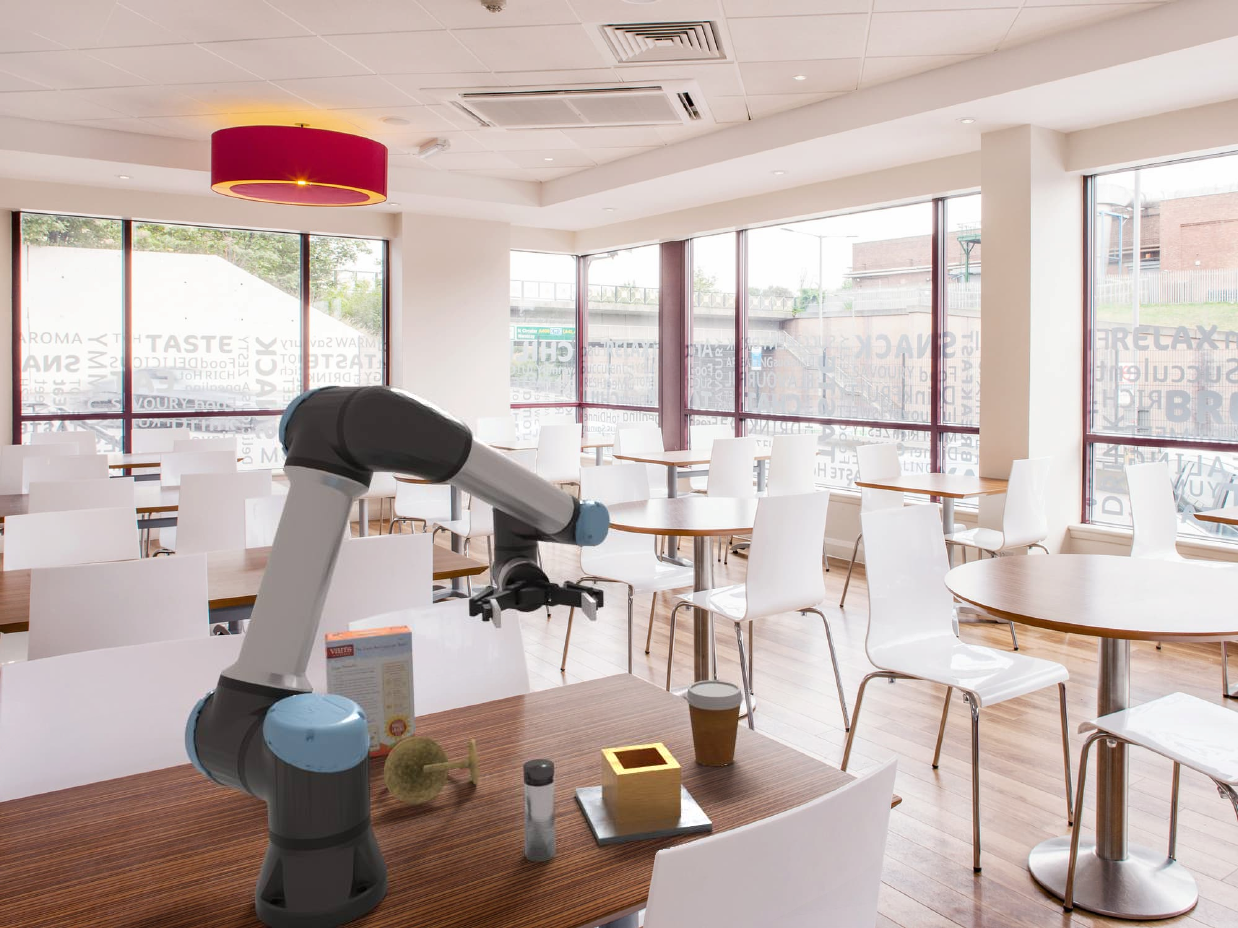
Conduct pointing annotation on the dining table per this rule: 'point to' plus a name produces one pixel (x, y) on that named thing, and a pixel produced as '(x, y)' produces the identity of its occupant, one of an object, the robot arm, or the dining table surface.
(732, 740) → the disposable coffee cup
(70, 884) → the dining table surface
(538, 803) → the capped glass tube
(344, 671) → the cracker box
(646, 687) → the dining table surface
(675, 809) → the yellow open box
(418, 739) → the wall sconce
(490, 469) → the robot arm
